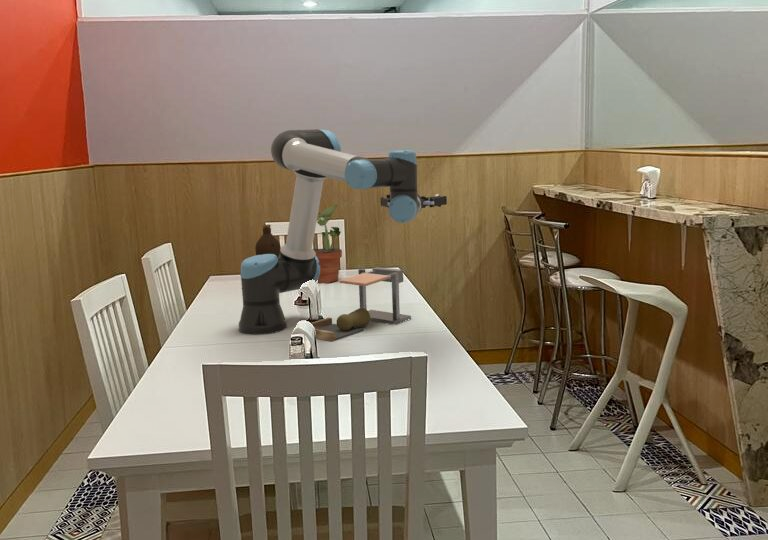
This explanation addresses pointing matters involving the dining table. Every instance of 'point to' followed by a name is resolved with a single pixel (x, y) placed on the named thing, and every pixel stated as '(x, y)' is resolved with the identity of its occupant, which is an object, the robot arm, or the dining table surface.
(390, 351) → the dining table surface
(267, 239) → the olive oil
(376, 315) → the flap stand
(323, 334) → the wooden picture frame
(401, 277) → the drop flap
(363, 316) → the cork
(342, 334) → the mat
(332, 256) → the potted plant
